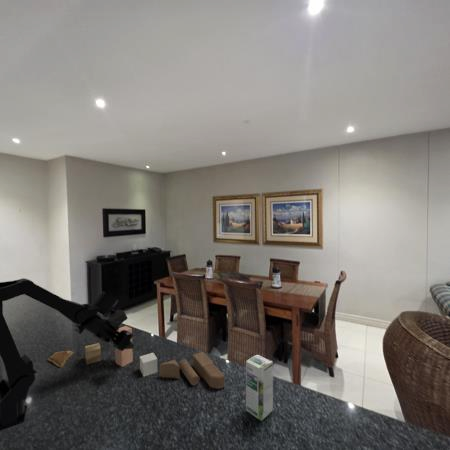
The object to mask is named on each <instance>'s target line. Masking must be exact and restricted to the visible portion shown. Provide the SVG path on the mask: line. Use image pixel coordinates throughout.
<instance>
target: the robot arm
mask: <svg viewBox="0 0 450 450" xmlns="http://www.w3.org/2000/svg"><path fill="white" fill-rule="evenodd" d="M23 295H24V296H27V297H30V298H31V299H34V300H35V301H37V302H39V303H41V304H44V305H46V306H48V307H49V308H52V309H53V310H56V312H58V313H59V314H60V315H61V316H62V317H63V318H65V319H67V320H68V321H70V322H72V323H73V324H75V330H74V332H76V333H77V334H79V335H81V334H83V332H84V331H87V332H89V333H90V334H92V335H93V337H95V338H97V340H98V339H99V340H101V341H103V342H106V343H110V342H111V343H112V347H113V348H114V349H115V348H117V349H119V350H120V351H123V350H124V349H132V350H133V349H134V348H135V345H134V343H133V341H132V342H131V341H130V340H131V338H132V339H133V336H134V335H133V332H132V333H130V332H128V331H126V330H122V331H121V332H118V329H119V328H121V327H120V326H121V324H123V323H124V322H125V321H127V320H128V316H127V314H126V312H125V311H124V310H122V309H115V310H114V307H115V306H116V305H117V303H119V300H118V299H117V298H116V297H115V296H111V295H110V294H108V293H106V292H105V291H101V292H100V294H99V296H98V297H97V299H96V300H95V301H94V302H93V304H91V303H84V304H83V303H82V304H81V303H80V302H77V301H73V300H69V299H64V298H62V297H61V296H58V295H56V294H55V293H54V292H51V291H49V290H47V289H46V288H44V287H41V286H40V285H38V284H37V283H35V282H34V281H32V280H30V279H28V278H19V279H15V280H11V281H10V280H8V281H2V282H1V281H0V361H1V374H2V379H1V380H0V430H2V429H5V428H8V427H11V426H14V425H16V424H19V423H22V422H24V421H25V420H26V416H27V412H28V405H25V399H27V396H28V392H29V390H30V388H31V386H32V385H33V384H34V382H35V379H36V375H35V374H37V370H36V369H35V368H34V365H33V364H34V363H33V360H32V359H31V358H30V357H29V356H28V355H27V354H24V355H23V356H21V355H20V352H19V350H18V348H17V345H16V342H15V341H14V338H13V335H12V334H11V333H12V332H11V331H10V328H9V326H8V322H7V321H6V319H5V316H4V308H3V307H4V305H3V304H4V303H3V302H6V301H9V300H11V299H14V298H17V297H19V296H23ZM100 315H101V316H100ZM105 315H106V316H107V318H104V317H105ZM102 316H103V317H102ZM116 334H117V335H116ZM115 338H116V339H115Z"/></svg>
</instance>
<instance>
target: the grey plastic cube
mask: <svg viewBox="0 0 450 450" xmlns="http://www.w3.org/2000/svg"><path fill="white" fill-rule="evenodd" d="M139 371H140V372H141V375H142V376H143V377H148V376H149V375H153V374H155V373H158V372H159V371H158V358H157V356H156V355H155V353H154V352H151V353H147V354H144V355H140V356H139Z"/></svg>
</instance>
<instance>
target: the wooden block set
mask: <svg viewBox="0 0 450 450" xmlns="http://www.w3.org/2000/svg"><path fill="white" fill-rule="evenodd" d="M194 369H195V370H194ZM180 370H181V372H182V373H183V374H184V376H185V377H186V379H187V381H188V382H189V383H190V385H191V386H197V385H198V384H199V382H200V377H201V379H203V380H204V381H205V382H206V383H207V385H208V386H209V388H211V389H216V390H220V389H223V388H224V387H225V375H224V374H223V373H222V372H221V370H219V369H218V368H217V366H216V365H215V363H214V361H212V359H211V358H210V357H209V356H208V355H207V354H206V353H205V352H204V351H200V352H197V353H194V354H192V366H191V364H190V362H188V361H187V359H185V358H181V360H179V361H178V362H177V361H176V360H175V359H173V360H169V361H165V362H163V363H159V377H160V378H166V379H172V380H173V379H175V380H180V376H181V375H180ZM198 374H199V375H198Z"/></svg>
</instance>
